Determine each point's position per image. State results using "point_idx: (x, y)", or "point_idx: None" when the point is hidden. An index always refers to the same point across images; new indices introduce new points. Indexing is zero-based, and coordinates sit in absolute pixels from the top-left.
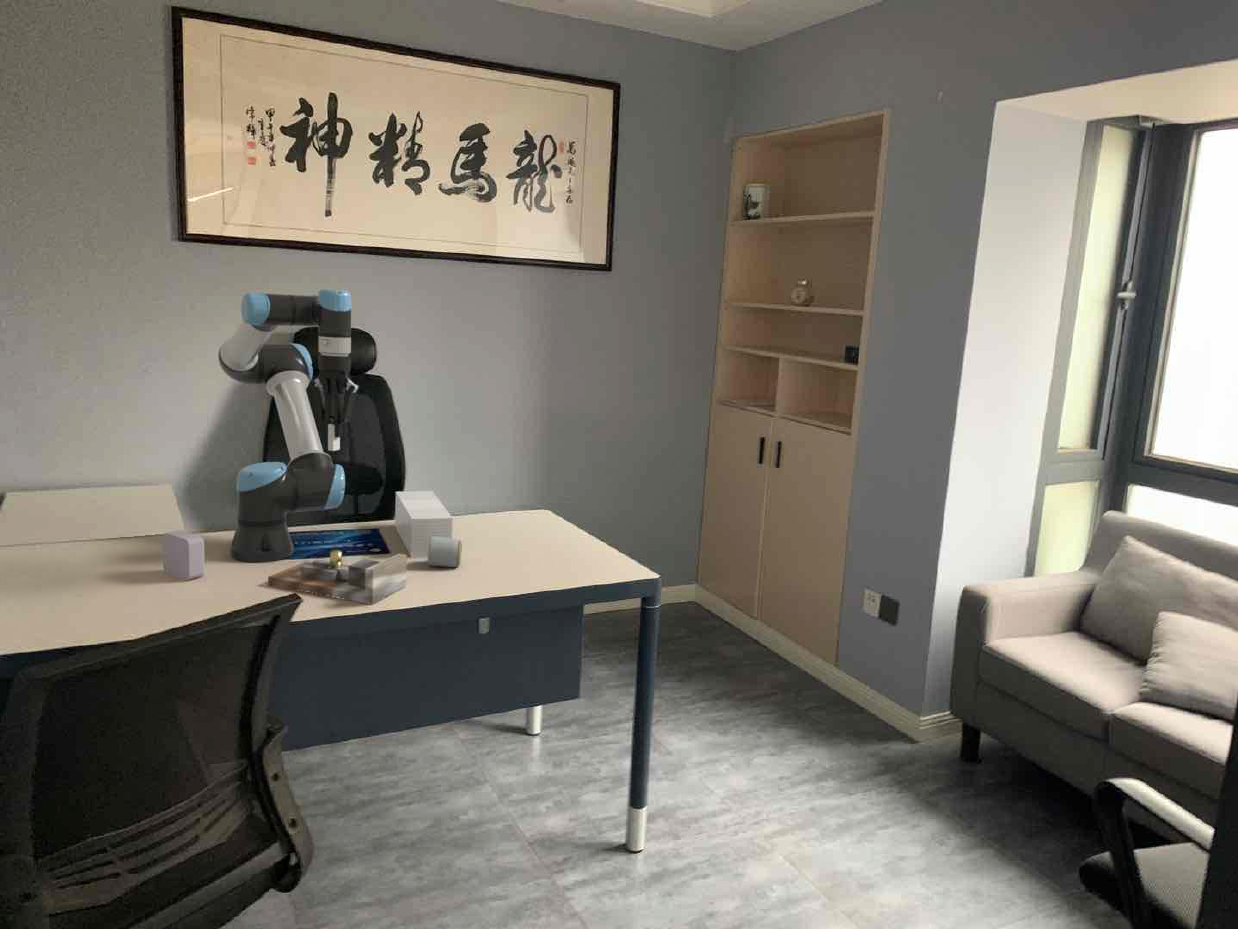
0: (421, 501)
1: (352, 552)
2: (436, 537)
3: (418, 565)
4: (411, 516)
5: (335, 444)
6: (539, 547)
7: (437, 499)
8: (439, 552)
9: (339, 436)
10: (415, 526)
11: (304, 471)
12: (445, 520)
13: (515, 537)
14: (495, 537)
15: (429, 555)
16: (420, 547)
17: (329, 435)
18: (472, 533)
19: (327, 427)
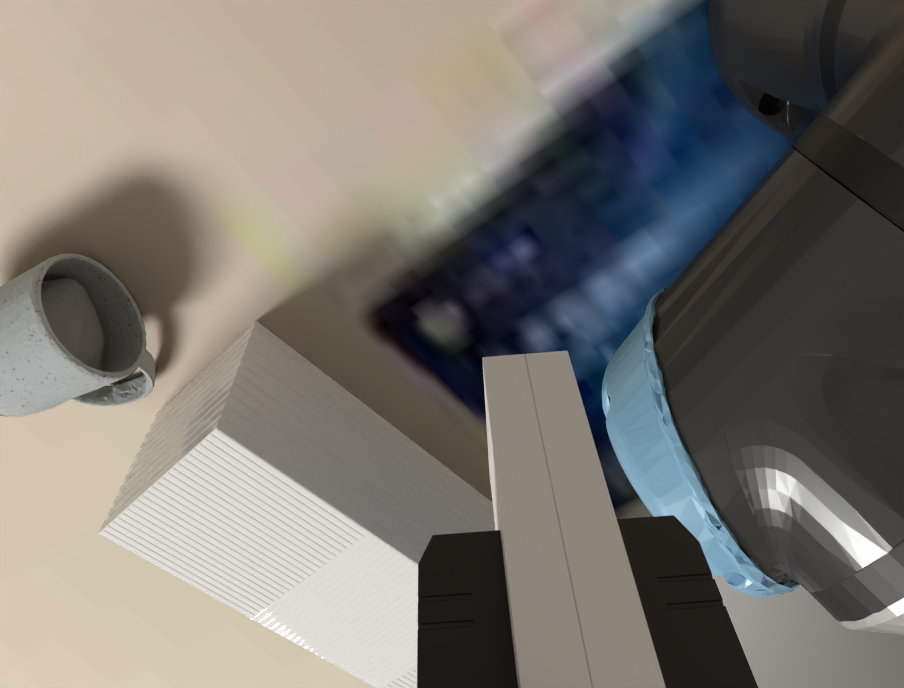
0: (408, 640)
1: (500, 246)
2: (43, 360)
3: (151, 255)
4: (253, 457)
5: (491, 455)
6: (17, 619)
7: (378, 686)
8: (2, 291)
9: (428, 566)
10: (215, 414)
11: (898, 343)
12: (121, 507)
13: (160, 654)
14: (208, 628)
15: (43, 262)
16: (223, 367)
17: (581, 508)
18: None
19: (699, 655)
